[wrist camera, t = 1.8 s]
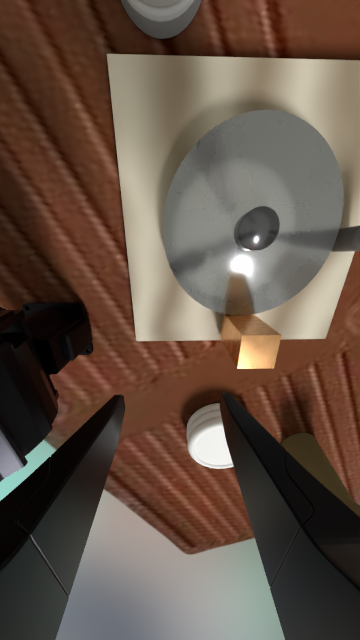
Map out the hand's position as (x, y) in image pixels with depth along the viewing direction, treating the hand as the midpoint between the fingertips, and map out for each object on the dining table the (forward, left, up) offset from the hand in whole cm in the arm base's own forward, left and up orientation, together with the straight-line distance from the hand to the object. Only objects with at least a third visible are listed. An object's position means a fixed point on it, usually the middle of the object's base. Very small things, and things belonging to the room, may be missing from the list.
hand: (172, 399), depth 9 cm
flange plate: (+7, +7, -10) cm, 14 cm away
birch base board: (+7, +9, -12) cm, 16 cm away
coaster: (+7, -18, -12) cm, 23 cm away
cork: (+21, -23, -12) cm, 33 cm away
